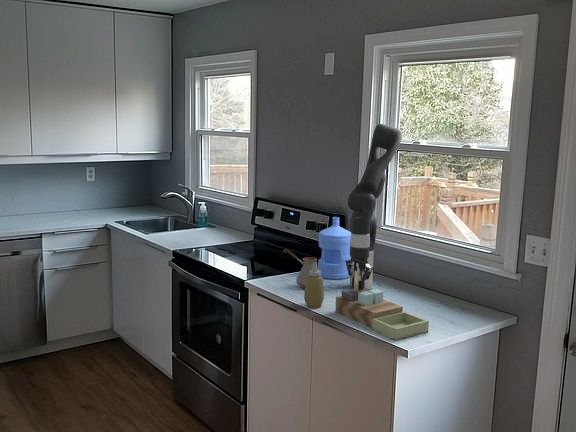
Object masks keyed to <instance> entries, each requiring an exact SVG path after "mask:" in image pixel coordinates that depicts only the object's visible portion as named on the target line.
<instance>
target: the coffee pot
mask: <svg viewBox="0 0 576 432" xmlns="http://www.w3.org/2000/svg"><path fill="white" fill-rule="evenodd" d="M282 252H283V253H285V252H286V253H287V254H289V255H290V256H291V257H293V258H294V259H295V260H297V261H298V262H299V263H300V264H301V265H302V267H301V269H300V272H299V273H298V275H297V278H296V284H297V286H299V287H300V288H301V289H302V290H305V286H306V278H307V276H309V271H310V270H312V267H313V263H314V262H317V261H318V259H317V258H316V257H312V256H311V257H303V258H302V260H301V259H299V257H298V256H296V255H295V254H294V252H291V250H289V249H287V248H285V249H284V250H283V251H282Z"/></svg>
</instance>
